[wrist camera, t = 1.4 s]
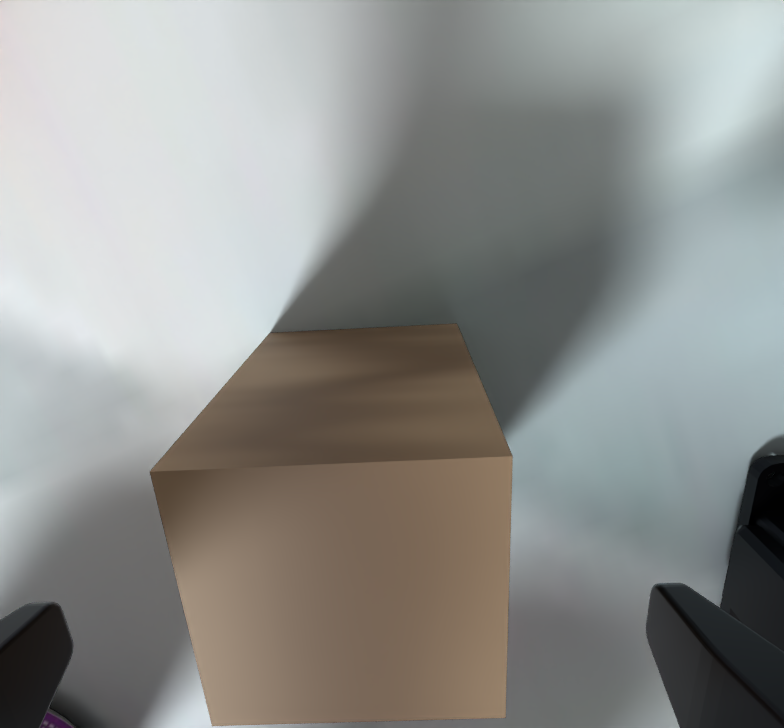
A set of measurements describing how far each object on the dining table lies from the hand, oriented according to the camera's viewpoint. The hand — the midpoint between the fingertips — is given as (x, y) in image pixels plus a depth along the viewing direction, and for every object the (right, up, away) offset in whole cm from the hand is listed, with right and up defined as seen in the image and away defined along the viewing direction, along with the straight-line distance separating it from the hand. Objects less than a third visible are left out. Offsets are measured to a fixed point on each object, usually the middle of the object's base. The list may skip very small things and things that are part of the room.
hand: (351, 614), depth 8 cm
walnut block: (0, +2, +7) cm, 7 cm away
